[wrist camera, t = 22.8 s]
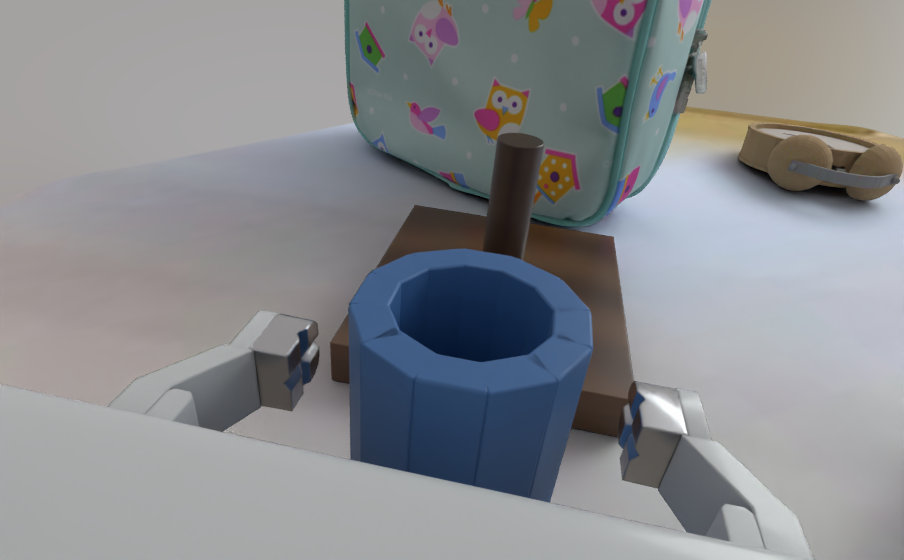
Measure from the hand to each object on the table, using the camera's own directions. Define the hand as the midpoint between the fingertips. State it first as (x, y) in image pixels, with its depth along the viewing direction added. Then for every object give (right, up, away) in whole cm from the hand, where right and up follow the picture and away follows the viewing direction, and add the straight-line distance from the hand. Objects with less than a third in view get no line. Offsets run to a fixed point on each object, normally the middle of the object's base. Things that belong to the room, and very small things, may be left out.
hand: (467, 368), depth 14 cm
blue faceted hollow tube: (-1, -6, +3) cm, 7 cm away
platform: (+2, +1, +14) cm, 14 cm away
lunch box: (+3, +10, +30) cm, 32 cm away
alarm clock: (+32, +11, +37) cm, 50 cm away
